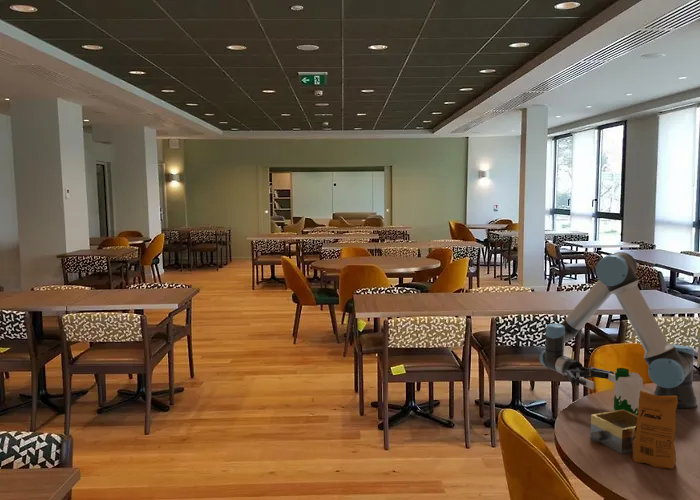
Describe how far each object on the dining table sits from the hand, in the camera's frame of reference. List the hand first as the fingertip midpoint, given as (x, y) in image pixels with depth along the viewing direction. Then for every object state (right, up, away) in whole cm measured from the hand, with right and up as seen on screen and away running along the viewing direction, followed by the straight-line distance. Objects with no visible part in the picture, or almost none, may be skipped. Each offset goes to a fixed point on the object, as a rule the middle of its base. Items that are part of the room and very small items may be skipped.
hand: (607, 383), depth 226 cm
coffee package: (-2, -16, -38) cm, 41 cm away
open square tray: (-7, -14, -24) cm, 29 cm away
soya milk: (+4, -13, -8) cm, 15 cm away
